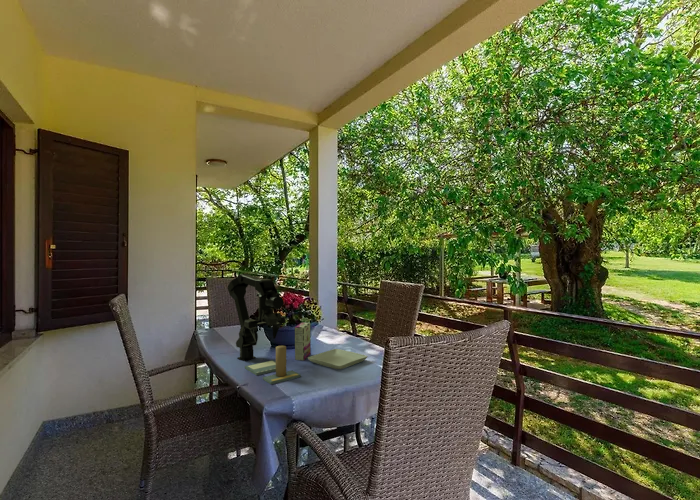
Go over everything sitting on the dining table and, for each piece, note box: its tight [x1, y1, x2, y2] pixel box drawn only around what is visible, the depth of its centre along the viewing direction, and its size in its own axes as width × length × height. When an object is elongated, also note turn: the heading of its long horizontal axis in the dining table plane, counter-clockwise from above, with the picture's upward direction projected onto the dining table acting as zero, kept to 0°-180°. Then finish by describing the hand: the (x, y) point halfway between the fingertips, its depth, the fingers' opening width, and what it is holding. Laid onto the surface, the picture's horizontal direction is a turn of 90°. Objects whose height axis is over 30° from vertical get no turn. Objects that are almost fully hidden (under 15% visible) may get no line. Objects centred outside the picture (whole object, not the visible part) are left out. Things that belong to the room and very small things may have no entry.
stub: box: [262, 345, 302, 385], centre depth 160 cm, size 7×14×13 cm, turn 129°
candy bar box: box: [294, 322, 312, 362], centre depth 190 cm, size 11×5×16 cm, turn 168°
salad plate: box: [307, 348, 368, 370], centre depth 182 cm, size 21×21×3 cm
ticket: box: [244, 359, 276, 376], centre depth 173 cm, size 12×14×1 cm
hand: (265, 340), depth 177 cm, fingers open, 9 cm apart
